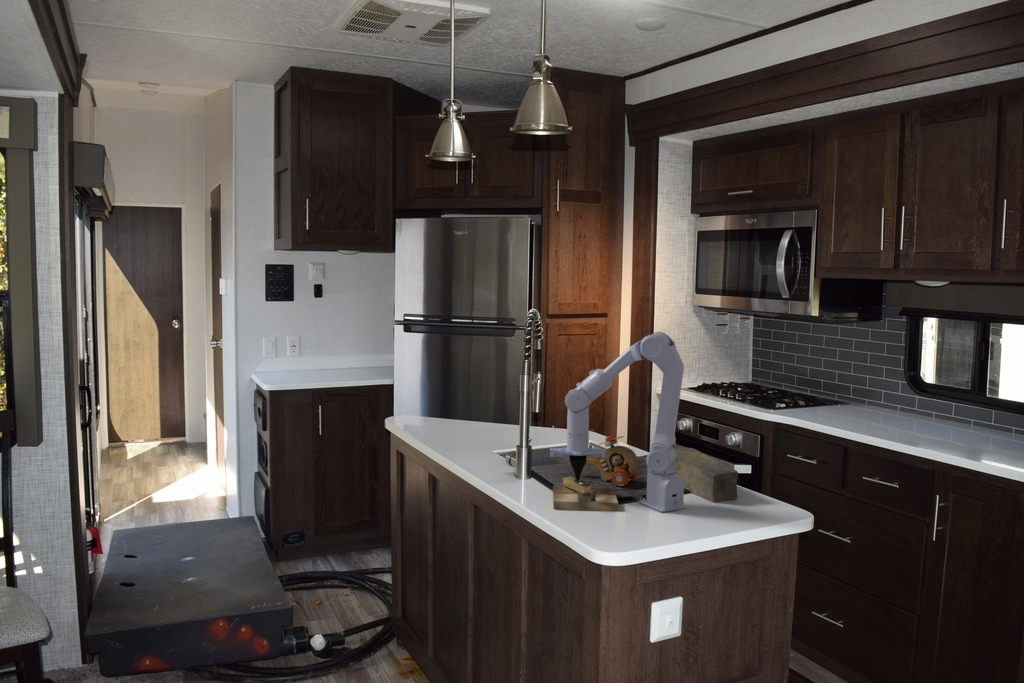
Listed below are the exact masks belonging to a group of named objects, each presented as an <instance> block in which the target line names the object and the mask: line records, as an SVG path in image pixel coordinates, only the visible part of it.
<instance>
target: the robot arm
mask: <svg viewBox="0 0 1024 683" xmlns="http://www.w3.org/2000/svg"><path fill="white" fill-rule="evenodd" d="M645 359H646V360H647V361H649V362H652V364H655V365H656V366H657V368H658V369H659V370H660V371H661V372H662V382H661V389H660V396H659V403H658V410H657V416H656V417H657V418H656V424H655V432H654V433H655V434H654V436H653V440H652V443H651V448H650V450H649V451H648V453H647V454H646V457H645V462H646V466H647V467H646V496H645V499H641V500H640V499H639V501H638V502H639V504H642V505H644V506H646V507H649V508H651V509H653V510H655V511H658V512H659V513H665V512H666V513H667V512H672V511H677V510H683V509H686V508H687V505H684V500H685V498H684V494H685V490H684V483H683V481H682V479H681V478H679V477H678V476H677V474H676V468H675V467H674V465H673V463H674V462H675V461H676V459H677V450H676V441H677V439H676V427H677V420H678V413H679V407H680V400H681V394H682V393H681V392H682V386H683V377H684V372H685V365H684V363H683V360H682V358H681V356H680V354H679V352H678V349H677V346H676V343H675V341H674V340H673V339H672V337H670V336H669V335H668V334H667V333H666V332H662V331H656V332H653V333H651V334H648V335H646V336H644V337H643V338H642V339H641V340H639V341H637V342H636V343H634V344H632V345H631V346H629V347H628V348H627V349H626V350H625V351H623V352H622V353H621V354H620V355H619V356H618V357H617V358H615V359H614V361H612V362H611V363H610V364H609V365H608V366H606V368H604V369H602V368H597V369H592V370H591V371H589V372H588V374H589V375H588V376H587V377H586V378H585V379H583V380H582V381H581V382H580V381H578V382H577V383H576V384H575V385H576V387H575V388H574V389H570V390H568V393H567V394H566V395H565V397H564V404H565V407H566V408H567V416H566V420H567V421H566V427H567V428H566V447H555V448H554V447H553V448H549V450H550V452H549V454H550V455H549V457H550V458H555V457H561V458H562V457H563V458H565V457H567V458H568V457H569V459H568V461H569V460H570V461H569V463H570V465H571V467H572V469H573V472H574V476H575V477H574V478H575V479H578V480H580V478H581V475H582V472H583V469H584V467H585V466H586V461H587V459H586V457H601V458H605V450H606V449H605V448H592V447H589V445H590V444H589V441H590V438H589V437H590V436H589V435H590V433H589V432H590V430H589V429H590V428H589V427H590V425H589V424H590V416H589V415H590V411H589V410H590V408H589V406H591V404H592V402H593V401H595V400H596V399H597V398H599V397H600V396H601V395H602V394H604V393H605V392H606V391H608V390H609V389H610V388H611V387H612V386H613V379H614V378H615V377H616V376H617V375H618V374H620V373H621V372H623V371H624V370H625V369H627V368H628V367H629V366H630V365H632V364H633V363H635V362H637V361H638V362H639V361H643V360H645Z"/></svg>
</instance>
